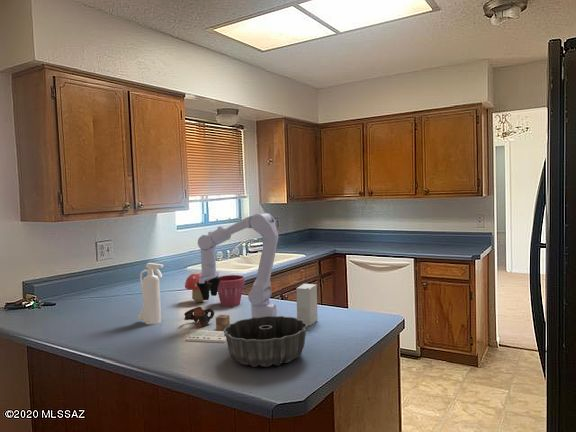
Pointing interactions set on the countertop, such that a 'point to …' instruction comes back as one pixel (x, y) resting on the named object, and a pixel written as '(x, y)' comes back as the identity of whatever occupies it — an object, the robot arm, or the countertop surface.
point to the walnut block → (222, 322)
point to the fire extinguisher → (151, 294)
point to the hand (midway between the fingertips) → (210, 297)
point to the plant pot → (230, 289)
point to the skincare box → (307, 303)
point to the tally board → (207, 336)
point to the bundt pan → (266, 340)
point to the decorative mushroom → (194, 286)
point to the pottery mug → (199, 316)
